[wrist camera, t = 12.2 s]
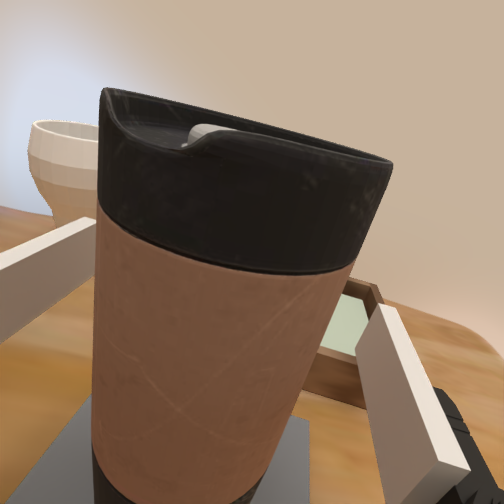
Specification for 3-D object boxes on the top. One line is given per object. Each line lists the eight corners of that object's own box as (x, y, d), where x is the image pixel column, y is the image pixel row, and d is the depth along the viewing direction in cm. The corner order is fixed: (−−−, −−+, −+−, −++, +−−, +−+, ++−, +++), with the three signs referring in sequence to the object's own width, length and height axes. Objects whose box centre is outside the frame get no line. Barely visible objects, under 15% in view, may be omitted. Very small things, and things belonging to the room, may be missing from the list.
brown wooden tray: (159, 344, 27) (164, 305, 25) (210, 266, 42) (216, 238, 40) (393, 418, 26) (417, 383, 24) (363, 311, 41) (376, 284, 39)
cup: (122, 285, 34) (127, 150, 27) (17, 271, 32) (-3, 123, 25) (143, 244, 43) (151, 136, 37) (63, 231, 41) (57, 115, 35)
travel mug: (224, 433, 21) (316, 136, 12) (252, 589, 14) (482, 187, 6) (104, 447, 18) (118, 86, 10) (71, 645, 12) (33, 80, 3)
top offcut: (297, 352, 28) (302, 341, 27) (300, 291, 38) (304, 282, 37) (375, 376, 28) (382, 365, 27) (358, 309, 37) (362, 300, 37)
